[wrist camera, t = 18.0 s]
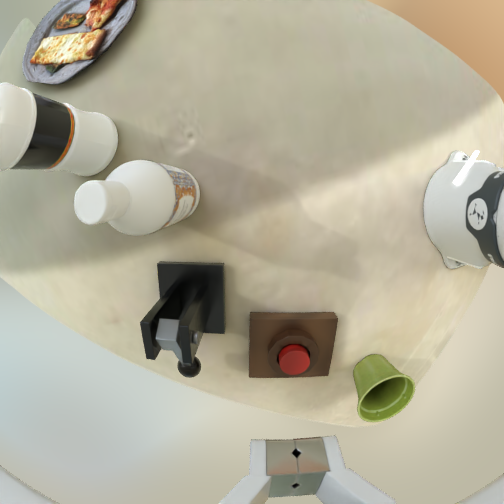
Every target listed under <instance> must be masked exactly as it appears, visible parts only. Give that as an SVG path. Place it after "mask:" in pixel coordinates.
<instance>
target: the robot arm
mask: <svg viewBox="0 0 504 504" xmlns="http://www.w3.org/2000/svg"><path fill="white" fill-rule="evenodd" d="M478 153H479V150H475V152H474V153H473V155H472V156H471V157H469V156H468V155H466V154H464V153H463V152H461V151H454V152H453V153H452V154H451V156H450V158H449V160H448V162H447V163H446V164H445V165H444V166H442V167H441V168H440V169H438V170H437V171H436V172H435V174H434V175H433V176H432V178H431V180H430V182H429V184H428V186H427V189H426V193H425V198H424V221H425V226H426V230H427V233H428V235H429V237H430V239H431V241H432V243H433V244H434V245H435V246H436V247H437V249H438V250H439V251H440V252H441V254H442V257H443V260H444V263H445V265H446V267H447V268H450V269H454V268H458V267H461V266H464V265H470V266H472V267H475V268H479V269H482V267H484V266H487V265H490V264H491V263H494V264H495V265H497V266H499V267H502V268H504V169H503V168H499V167H496V164H494V163H490V162H489V161H485V160H475V158H476V157H477V155H478ZM249 470H250V471H249V476H244V477H243V478H242V480H241V481H240V482H239V483H238V484H237V485H236V486H235V487H234V488H233V489H232V490H231V491H230V492H229V493H228V494H227V495H226V496H225V497H224V498H223V499H222V500H221V501H220V502H219V503H218V504H264V503H265V502H266V501H267V499H268V497H283V496H300V495H312V494H313V495H314V494H316V496H317V497H318V498H319V499H320V500H321V502H322V503H323V504H396V502H395V499H393V498H392V497H390V496H389V495H387V494H386V493H384V492H383V491H381V490H380V489H378V488H377V487H375V486H374V485H372V484H371V483H369V482H368V481H367V480H365V479H364V478H362V477H361V476H360V475H358V474H357V473H356V472H354V471H353V470H352V469H350V468H349V469H346V467H345V463H344V460H343V457H342V453H341V450H340V446H339V443H338V440H337V437H336V436H335V435H334V436H326V437H313V438H300V439H293V440H256V439H251V442H250V469H249ZM0 504H59V503H57V502H55V501H54V500H52V499H50V498H48V497H46V496H45V495H43V494H41V493H40V492H38V491H36V490H35V489H33V488H32V487H30V486H29V485H27V484H25V483H24V482H23V481H21V480H20V479H18V478H17V477H15V476H14V475H12V474H11V473H10V472H8V471H7V470H6V469H4V468H3V467H2V466H1V465H0ZM456 504H504V474H502V475H501V476H499V477H498V478H497V479H495V480H494V481H492V482H491V483H489V484H488V485H487V486H485V487H483V488H482V489H480V490H479V491H477V492H475V493H474V494H472V495H470V496H468V497H467V498H465V499H463V500H462V501H460V502H458V503H456Z"/></svg>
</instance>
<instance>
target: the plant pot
mask: <svg viewBox="0 0 504 504" xmlns="http://www.w3.org/2000/svg"><path fill="white" fill-rule="evenodd" d="M353 375H354V380H355V384H356V388H357V393H358V398H359V399H358V407H357V411H358V415H359V417H360V418H361V419H362V420H364V421H367V422H380V421H384V420H386V419H389V418H391V417H393V416H394V415H396V414H398V413H399V412H400V411H402V409H404V408H405V407H406V405H408V403H409V402H410V401H411V399H412V397H413V395H414V392H415V383H414V381H413V379H412V378H411V377H409V376H407V375H404V374H402V373H400V372H399V371H398V370H397V369H396V368H395V367H394V366H393V365H392V364H390V363H389V362H388V361H387V360H386V359H385V358H384V357H383V356H381V355H378V354H374V355H369V356H367V357H365V358H364V359H363V360H362V361H361V362H359V363H358V364H357V365H356V367H355V369H354V372H353Z"/></svg>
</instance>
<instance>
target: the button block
mask: <svg viewBox="0 0 504 504" xmlns="http://www.w3.org/2000/svg"><path fill="white" fill-rule="evenodd" d="M337 322H338V318H337V316H336V314H335V313H334V312H311V313H265V312H250V343H249V377H252V378H289V377H315V376H328V374H329V368H330V363H331V358H332V352H333V347H334V341H335V335H336V329H337ZM292 344H298V345H301V346H303V347H305V348H306V350H307V352H308V355H309V359H310V364H309V366H308V368H307V369H306V370H305V371H304V372H302V373H300V374H296V375H290V374H286V373H285V372H283V371H282V370H281V368H280V364H279V354H280V352H281V350H282V349H283V348H285V347H286V346H288V345H292Z"/></svg>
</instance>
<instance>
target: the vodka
mask: <svg viewBox="0 0 504 504" xmlns="http://www.w3.org/2000/svg"><path fill="white" fill-rule="evenodd" d="M117 145H118V133H117V129H116V126H115V124H114V122H113V121H112V120H111V119H110V118H109V117H108V116H106V115H103V114H101V113H97V112H86V111H83V110H79V109H76V108H74V107H73V106H72V105H70V104H68V103H59V102H57V101H54V100H51V99H48V98H45V97H42V96H39V95H37V94H34V93H31V92H30V91H29V90H28V89H25V88H19V87H17V86H15V85H13V84H11V83H0V171H6V170H9V169H35V170H43V171H47V172H51V171H55V170H63V171H69V172H72V173H74V174H76V175H80V176H92V175H95V174H97V173H99V172H101V171H102V170H103V169H104V168H106V167H107V166H108V164H109V163H110V162H111V160H112V159H113V157H114V155H115V152H116V149H117Z"/></svg>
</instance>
